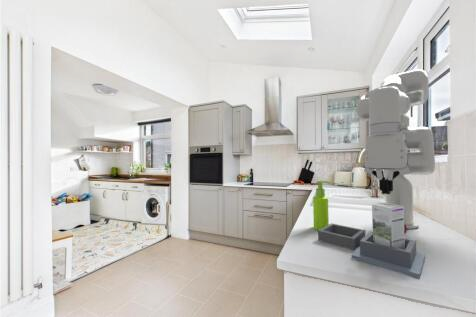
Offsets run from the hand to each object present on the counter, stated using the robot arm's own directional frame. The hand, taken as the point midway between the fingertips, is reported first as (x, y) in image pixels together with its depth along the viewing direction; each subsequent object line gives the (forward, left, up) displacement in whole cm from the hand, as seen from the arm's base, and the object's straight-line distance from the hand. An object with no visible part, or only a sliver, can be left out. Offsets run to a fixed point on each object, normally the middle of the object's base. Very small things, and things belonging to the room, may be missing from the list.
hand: (386, 193), depth 60 cm
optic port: (0, 0, -19) cm, 19 cm away
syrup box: (0, 0, -18) cm, 18 cm away
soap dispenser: (-13, -25, -19) cm, 34 cm away
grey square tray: (-5, -15, -19) cm, 24 cm away
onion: (-21, -1, -19) cm, 29 cm away
